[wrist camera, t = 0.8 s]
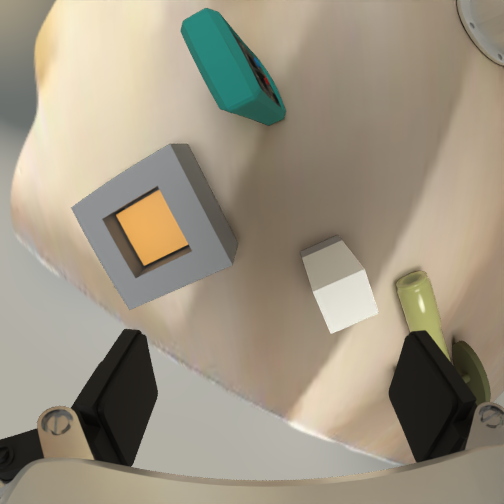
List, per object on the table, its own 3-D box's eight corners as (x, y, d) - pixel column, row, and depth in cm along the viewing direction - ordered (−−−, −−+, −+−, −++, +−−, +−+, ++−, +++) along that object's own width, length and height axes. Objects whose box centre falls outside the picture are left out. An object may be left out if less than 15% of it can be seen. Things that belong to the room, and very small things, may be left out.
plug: (337, 234, 34) (364, 268, 24) (351, 270, 35) (378, 313, 25) (299, 251, 34) (312, 291, 25) (314, 285, 36) (330, 334, 26)
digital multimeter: (265, 128, 30) (291, 116, 29) (218, 116, 16) (265, 93, 15) (235, 69, 29) (260, 57, 28) (170, 23, 15) (212, -1, 14)
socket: (187, 144, 31) (170, 143, 25) (238, 243, 34) (232, 265, 28) (100, 196, 33) (71, 207, 27) (149, 284, 36) (129, 310, 30)
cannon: (362, 290, 36) (394, 345, 25) (443, 249, 34) (495, 287, 23) (400, 408, 43) (420, 459, 32) (460, 376, 41) (489, 421, 30)
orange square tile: (165, 186, 29) (164, 186, 28) (194, 240, 31) (193, 242, 30) (118, 213, 30) (116, 215, 29) (146, 263, 32) (144, 266, 31)
